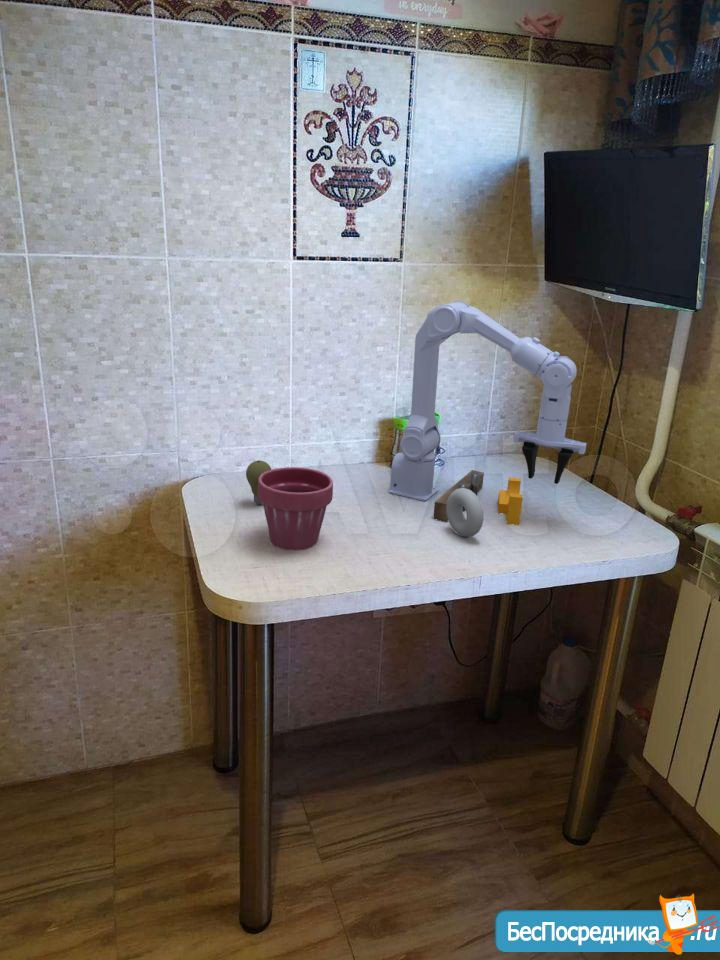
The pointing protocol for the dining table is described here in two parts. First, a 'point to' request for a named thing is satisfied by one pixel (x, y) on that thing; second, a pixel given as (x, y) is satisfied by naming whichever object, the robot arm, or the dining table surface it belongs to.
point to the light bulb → (256, 477)
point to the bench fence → (469, 481)
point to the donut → (473, 512)
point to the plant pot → (294, 505)
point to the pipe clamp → (511, 501)
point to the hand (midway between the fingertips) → (543, 479)
